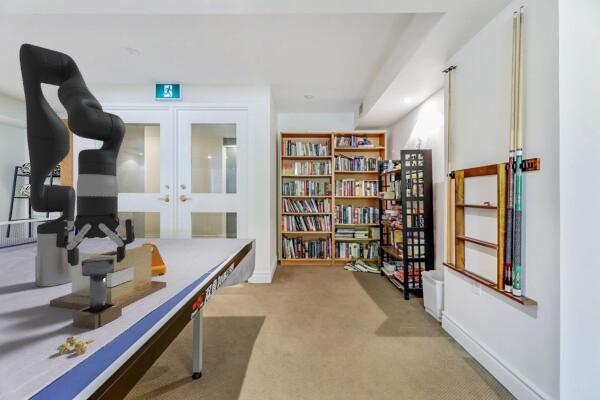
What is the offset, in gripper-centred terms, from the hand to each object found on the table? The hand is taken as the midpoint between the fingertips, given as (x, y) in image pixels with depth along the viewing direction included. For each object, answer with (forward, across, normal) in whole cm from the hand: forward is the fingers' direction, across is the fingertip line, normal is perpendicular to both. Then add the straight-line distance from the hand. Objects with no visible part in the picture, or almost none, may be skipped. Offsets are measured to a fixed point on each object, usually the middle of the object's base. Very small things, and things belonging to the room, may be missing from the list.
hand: (97, 263), depth 58 cm
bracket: (+14, +5, +37) cm, 39 cm away
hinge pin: (+14, 0, 0) cm, 14 cm away
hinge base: (+13, -2, +13) cm, 19 cm away
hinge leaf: (+11, -4, +14) cm, 18 cm away
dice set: (+15, 0, -11) cm, 18 cm away
